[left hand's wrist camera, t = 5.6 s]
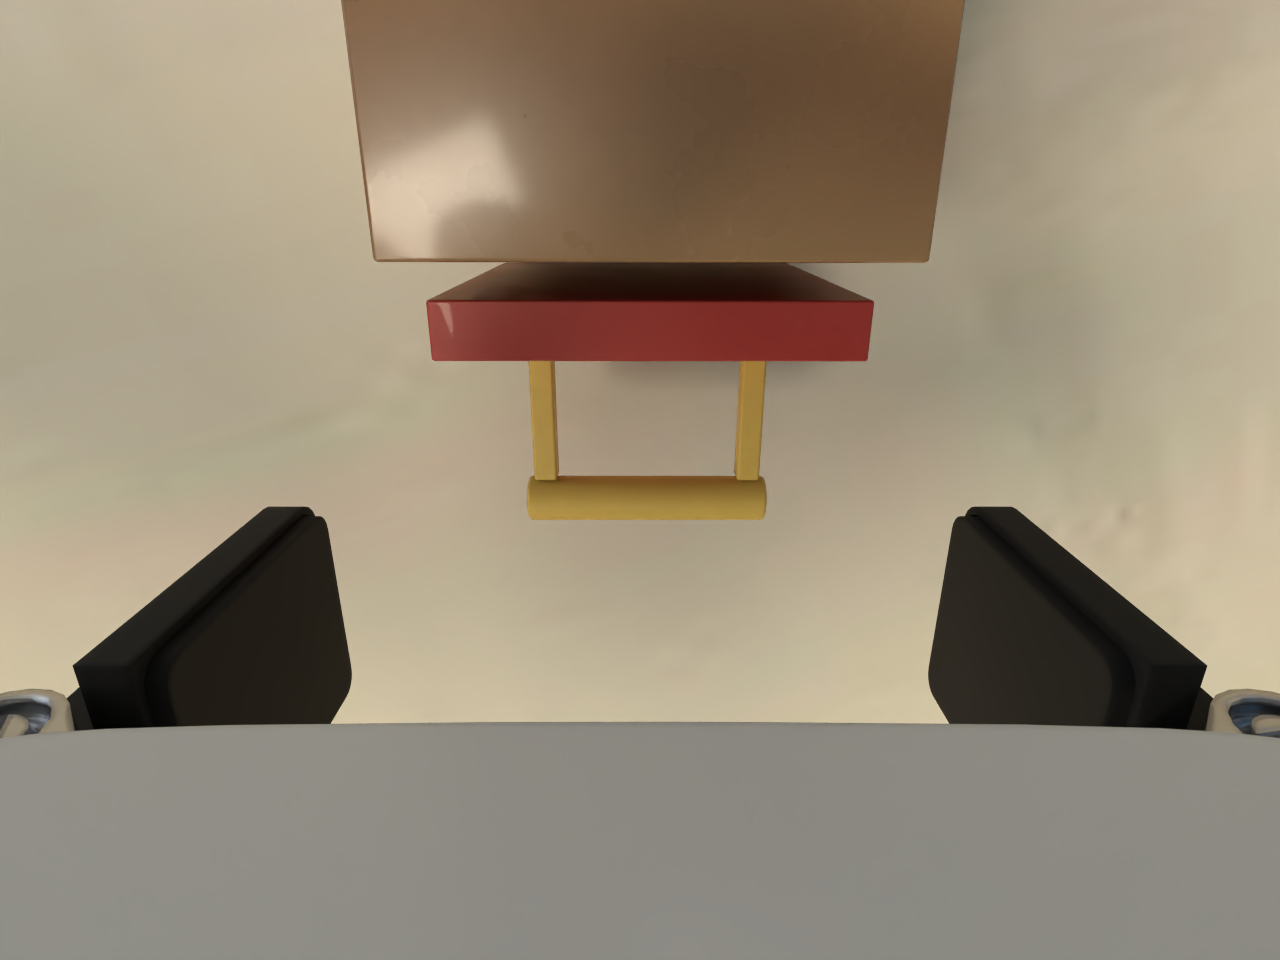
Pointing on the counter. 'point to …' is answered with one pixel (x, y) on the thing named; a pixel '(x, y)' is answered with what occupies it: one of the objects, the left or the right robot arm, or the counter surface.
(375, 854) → the left robot arm
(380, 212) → the cabinet
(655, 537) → the counter surface
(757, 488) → the drawer
